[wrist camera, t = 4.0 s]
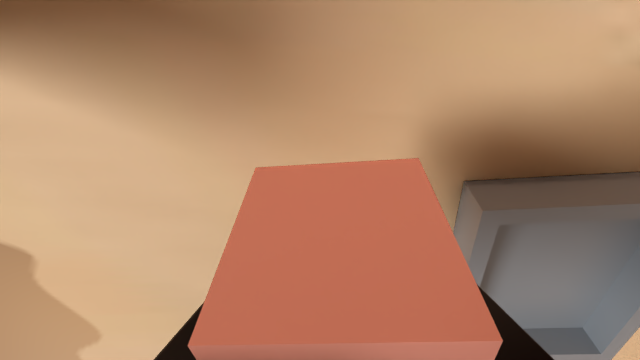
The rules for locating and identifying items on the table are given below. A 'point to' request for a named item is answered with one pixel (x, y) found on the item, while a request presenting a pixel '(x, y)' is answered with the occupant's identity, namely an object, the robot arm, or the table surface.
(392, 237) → the red cube
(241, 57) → the table surface
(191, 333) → the robot arm
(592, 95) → the table surface
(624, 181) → the serving tray
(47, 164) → the table surface
